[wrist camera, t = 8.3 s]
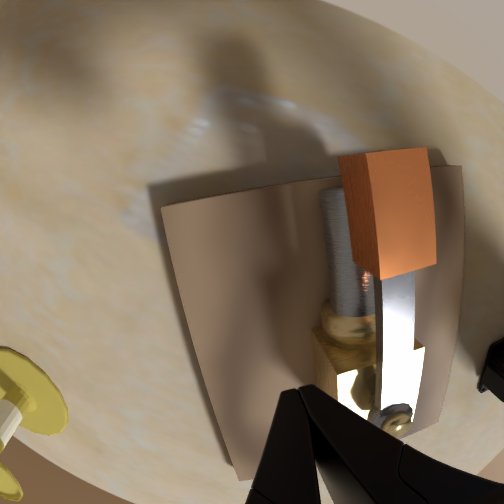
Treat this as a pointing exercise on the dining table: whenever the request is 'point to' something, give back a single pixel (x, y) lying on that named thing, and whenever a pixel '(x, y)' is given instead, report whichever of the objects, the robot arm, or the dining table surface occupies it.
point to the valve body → (349, 320)
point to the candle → (26, 408)
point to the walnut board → (292, 299)
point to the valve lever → (391, 262)
